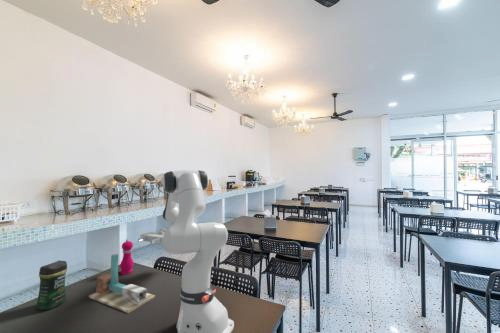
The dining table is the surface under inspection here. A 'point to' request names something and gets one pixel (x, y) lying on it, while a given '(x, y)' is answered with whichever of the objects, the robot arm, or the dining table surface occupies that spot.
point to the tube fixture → (120, 295)
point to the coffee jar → (52, 285)
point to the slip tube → (114, 276)
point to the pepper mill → (127, 258)
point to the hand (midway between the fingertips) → (144, 241)
